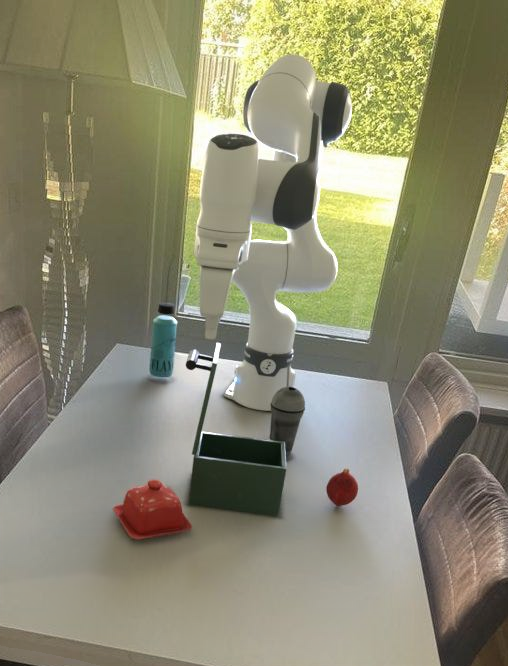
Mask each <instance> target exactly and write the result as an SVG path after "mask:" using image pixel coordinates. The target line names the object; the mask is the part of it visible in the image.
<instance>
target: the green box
mask: <svg viewBox="0 0 508 666" xmlns="http://www.w3.org/2000/svg"><path fill="white" fill-rule="evenodd" d="M191 468H192V470H191V479H190V488H189V496H188V505H190V506H198V507H205V508H206V507H207V508H214V509H220V510H228V511H235V512H244V513H250V514H259V515H266V516H273V517H274V516H275V517H279V513H280V507H281V503H282V496H283V491H284V485H285V481H286V474H287V460H286V453H285V442H281V441H273V440H270V439H264V438H256V437H249V436H241V435H232V434H225V433H216V432H208V431H202V432H201V436H200V441H199V445H198V449H197V453H196V455H193V459H192V467H191Z"/></svg>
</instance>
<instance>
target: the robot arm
mask: <svg viewBox="0 0 508 666" xmlns="http://www.w3.org/2000/svg"><path fill="white" fill-rule="evenodd" d="M316 76H317V75H316V71H315V69H314V67H313V65H312V64H311V63H310V61H309V60H308V59H307V58H305V57H304V56H303V55H299V54H296V53H293V54H292V53H290V54H285V55H283V56H280V57H279V58H277V59H276V60H275V61H274V62H273V63H272V64H271V65H270V66H269V67H268V68H267V70H265V72H264V73H263V74H262V76H261V77H260V79H259V80H256V81H255V80H254V82H253V83H252V84H251V85H249V86H248V88H247V90H246V93H245V96H244V98H243V103H242V118H243V125H244V127H245V129H246V130H247V132H248V133H249V134H251V135H253V137H254V138H253V137H251V136H248V135H245V134H240V133H222V134H221V133H220V134H217V135H215V136H213V137H211V138H210V140H209V141H208V143H207V148H206V151H205V155H204V161H203V165H202V170H201V176H200V185H199V194H198V195H199V202H200V211H199V215H198V217H197V220H196V225H195V226H196V228H195V237H194V246H193V247H194V248H193V255H194V256H195V257H196V265H197V266H199V290H198V291H199V293H198V294H199V296H198V298H199V299H198V300H199V301H198V302H199V314H200V316H201V317H204V318H205V319H204V322H205V331H204V338H205V339H206V340H212V341H213V340H215V339H216V337H217V332H218V331H217V330H218V325H219V324H220V322H221V319H222V318H223V317H224V314H225V310H226V306H227V302H228V298H229V294H230V290H231V286H232V283H233V284H234V285H235V286H236V287H237V288H238V289H239V291H240V292H241V293H242V295H243V296H244V298H245V300H246V302H247V305H248V310H249V327H248V328H249V329H248V336H247V342H246V344H245V348H244V350H243V361H242V362H241V363H239V364H238V365H236V366H235V368H234V378H233V381H232V383H231V384H230V386H229V387H228V388H227V389H226V391H225V393H224V397H225V398H227V399H230V400H232V401H234V402H236V403H238V404H239V405H242V406H243V407H246V408H249V409H252V410H256V411H257V410H258V411H268V412H271V405H270V404H271V402H272V398H273V396H274V395H275V393H276V392H277V391H278V390H280V389H281V388H284V387H286V385H287V367H288V366H290V374H289V387H294V388H295V385H296V384H295V383H296V377H297V375H296V372H295V370H294V369H293V368H292V363H293V359H294V352H295V351H294V349H293V346H294V341H295V336H296V330H297V323H298V322H297V317H296V315H295V314H294V312H293V311H291V309H289V308H288V307H287V306H285V305H283V304H282V303H280V302H278V301H277V299H276V297H277V293H279V292H287V293H299V294H311V293H319V292H326V291H327V290H329V288H330V287H331V286H332V285H333V284H334V283H335V280H336V278H337V274H338V267H339V266H338V260H337V257H336V255H335V253H334V252H333V250H332V249H331V248H329V246H328V245H327V244H326V243H325V241H324V240H323V237H322V236H321V233H320V230H319V227H318V222H317V209H318V207H319V202H320V197H321V185H320V179H321V173H322V163H323V146H324V149H326V148H329V146H330V143H333V142H336V141H338V140H339V139H340V138H341V137H342V136H343V135H344V134H345V132H346V130H347V128H348V126H349V124H350V122H351V118H352V113H353V102H352V98H351V92H350V90H349V89H348V86H347V85H344V84H342V83H340V82H336V81H331V82H326V81H321V80H317V77H316ZM258 142H259V143H260V144H261V145H262V146H264V147H266V148H267V149H270V150H273V156H272V159H263V158H259V143H258ZM252 222H253V223H260V224H266V225H267V224H268V225H275V226H277V227H281V228H284V229H285V230H286V231H287V241H275V240H264V239H253V240H252V239H251V237H252V231H253V227H252Z"/></svg>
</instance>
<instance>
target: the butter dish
mask: <svg viewBox="0 0 508 666" xmlns="http://www.w3.org/2000/svg"><path fill="white" fill-rule="evenodd" d="M112 510H113V512H114V513H115V516H116V517H117V518H118V520H119V522H120V524H121V525H122V526H123V528H124V530H125V531H126V533H127V534H128V536H129V537H130V538H131V539H133V540H142V539H149V538H153V537H161V536H166V535H171V534H177V533H183V532H189V531H191V530H192V529H193V525H192V523H191V522H190V520H189V519H188V517H187V516H186V515H185V514H184V511H183V505H182V501H181V500H180V498H179V496H178V495H177V493H176V492H175V491H174V490H173V489H172V488H171V487H169V486H167V485H165V484H163V482H162V481H161V480H159V479H154V478H153V479H149V480H148V481H147V484H143V485H137V486H134V487H131V488H130V489H128V490H127V491H126V493H125V496H124V499H123V503H122V504H117V505H115V506H113V508H112Z"/></svg>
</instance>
